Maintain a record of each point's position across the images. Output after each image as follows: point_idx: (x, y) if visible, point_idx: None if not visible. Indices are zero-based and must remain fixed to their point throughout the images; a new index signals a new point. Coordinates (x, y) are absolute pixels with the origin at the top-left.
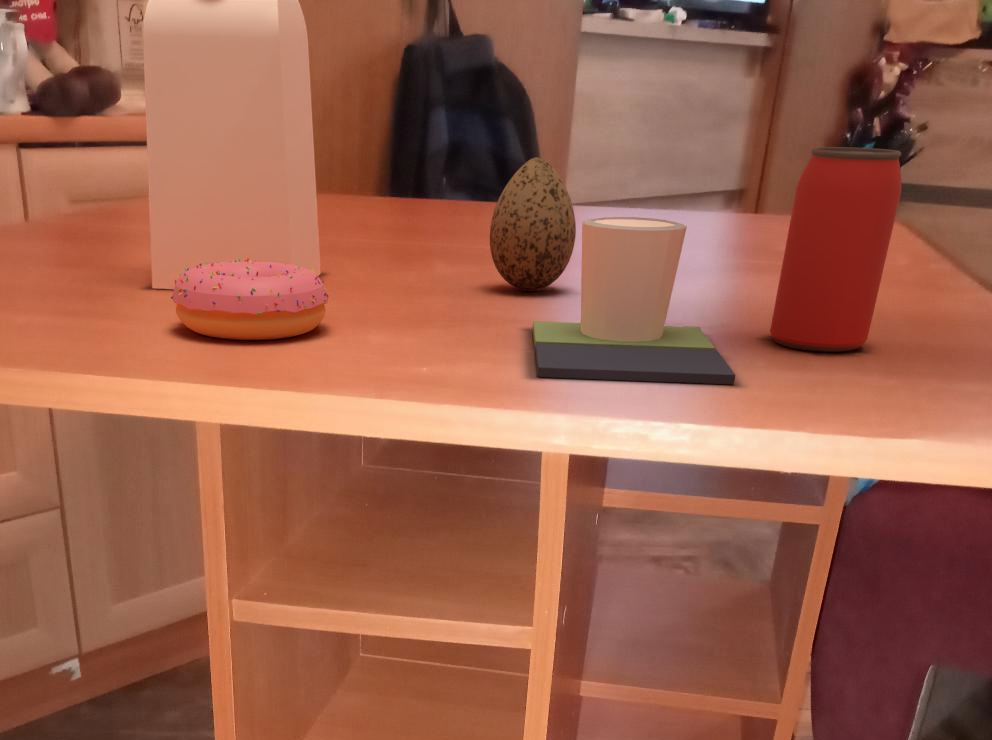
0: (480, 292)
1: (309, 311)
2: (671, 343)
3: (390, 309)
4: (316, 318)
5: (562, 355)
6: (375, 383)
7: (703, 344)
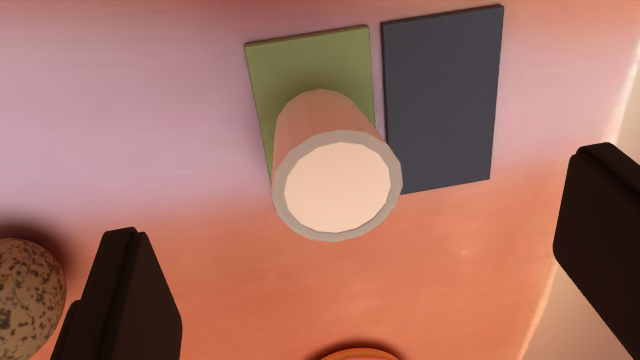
0: (69, 294)
1: (380, 357)
2: (359, 76)
3: (219, 333)
4: (369, 351)
5: (440, 168)
6: (513, 267)
7: (354, 41)
